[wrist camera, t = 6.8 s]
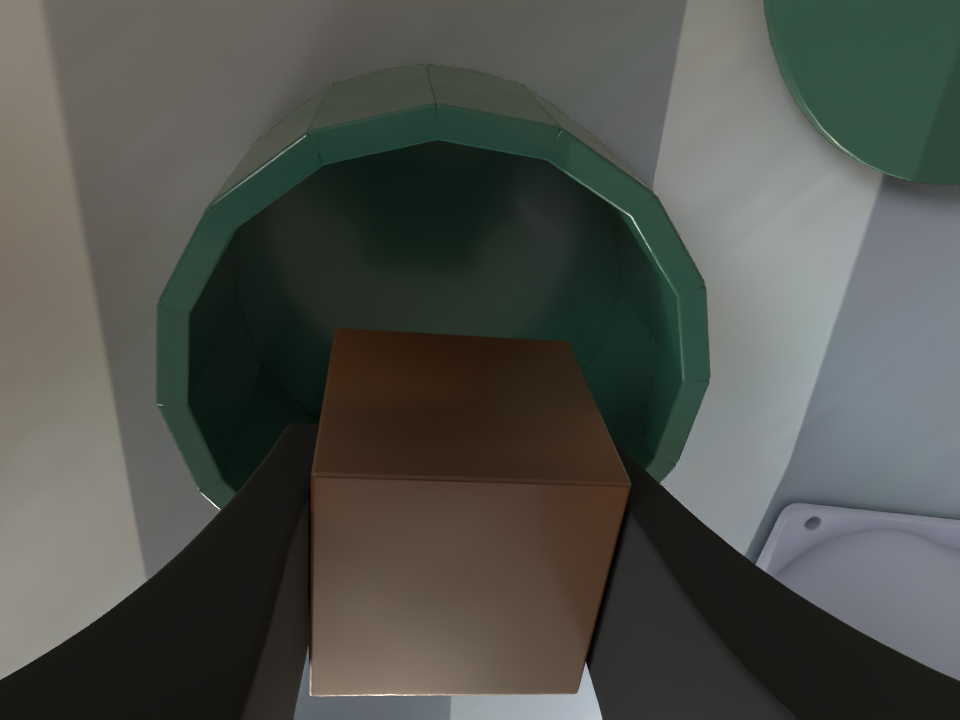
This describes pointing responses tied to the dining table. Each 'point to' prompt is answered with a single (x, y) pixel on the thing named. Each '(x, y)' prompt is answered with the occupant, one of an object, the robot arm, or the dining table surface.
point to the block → (457, 517)
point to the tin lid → (876, 79)
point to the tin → (425, 264)
